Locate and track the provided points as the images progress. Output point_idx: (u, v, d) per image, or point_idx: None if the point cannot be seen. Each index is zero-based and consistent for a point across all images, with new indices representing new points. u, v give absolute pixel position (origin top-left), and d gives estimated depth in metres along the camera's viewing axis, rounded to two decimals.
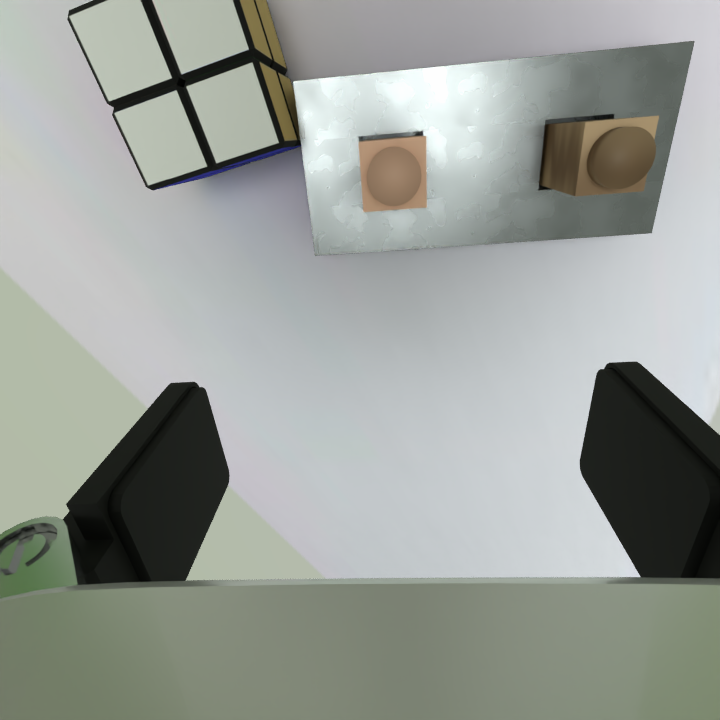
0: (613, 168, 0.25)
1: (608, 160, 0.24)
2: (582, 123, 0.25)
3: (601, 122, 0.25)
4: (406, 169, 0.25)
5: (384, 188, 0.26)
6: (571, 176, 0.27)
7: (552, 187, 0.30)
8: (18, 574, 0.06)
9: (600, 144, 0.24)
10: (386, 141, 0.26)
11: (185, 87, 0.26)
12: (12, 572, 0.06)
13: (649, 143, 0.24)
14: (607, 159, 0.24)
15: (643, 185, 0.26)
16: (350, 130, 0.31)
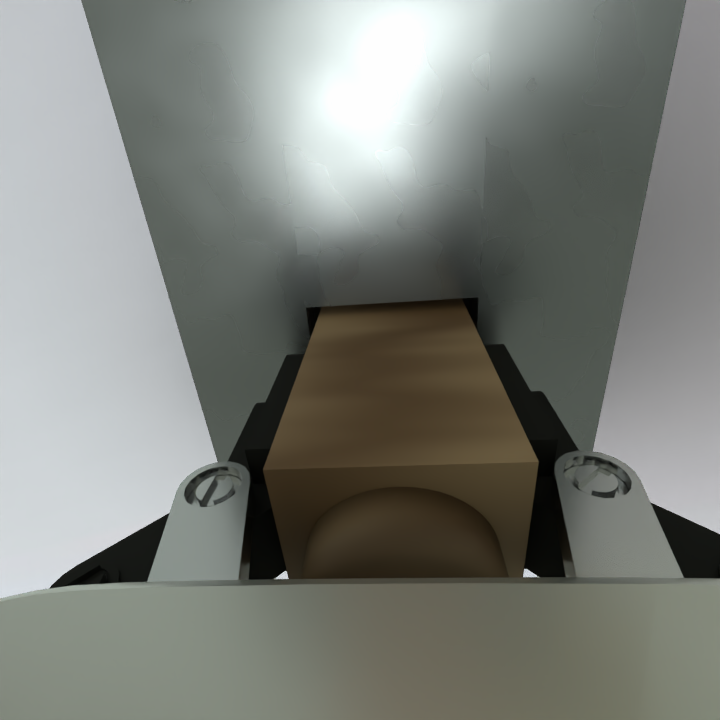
0: None
1: None
2: (526, 444, 0.07)
3: (526, 507, 0.07)
4: None
5: None
6: (340, 428, 0.07)
7: (310, 349, 0.10)
8: (205, 509, 0.07)
9: (463, 548, 0.06)
10: None
11: None
12: (203, 504, 0.07)
13: None
14: None
15: None
16: None
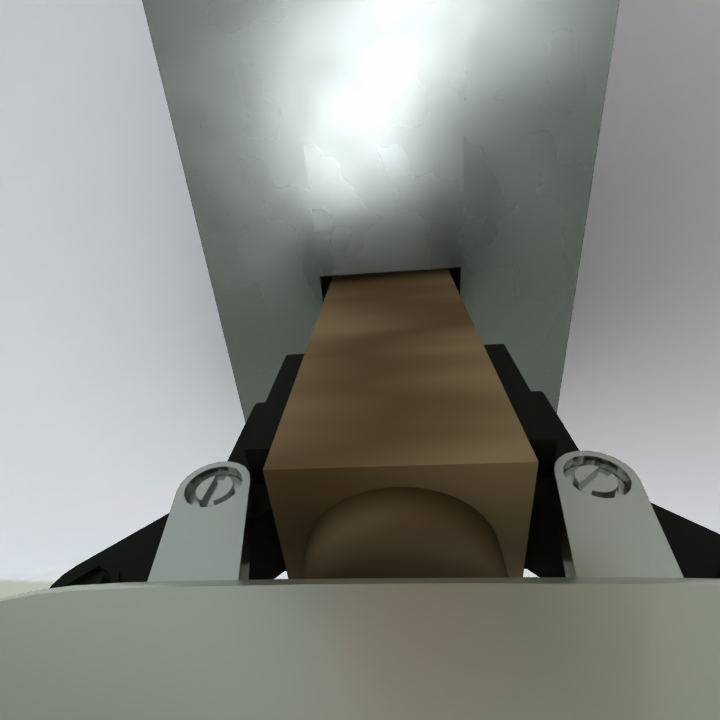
0: None
1: None
2: (526, 444, 0.07)
3: (525, 507, 0.07)
4: None
5: None
6: (340, 428, 0.07)
7: (310, 349, 0.10)
8: (206, 509, 0.07)
9: (463, 548, 0.06)
10: None
11: None
12: (203, 504, 0.07)
13: None
14: None
15: None
16: None
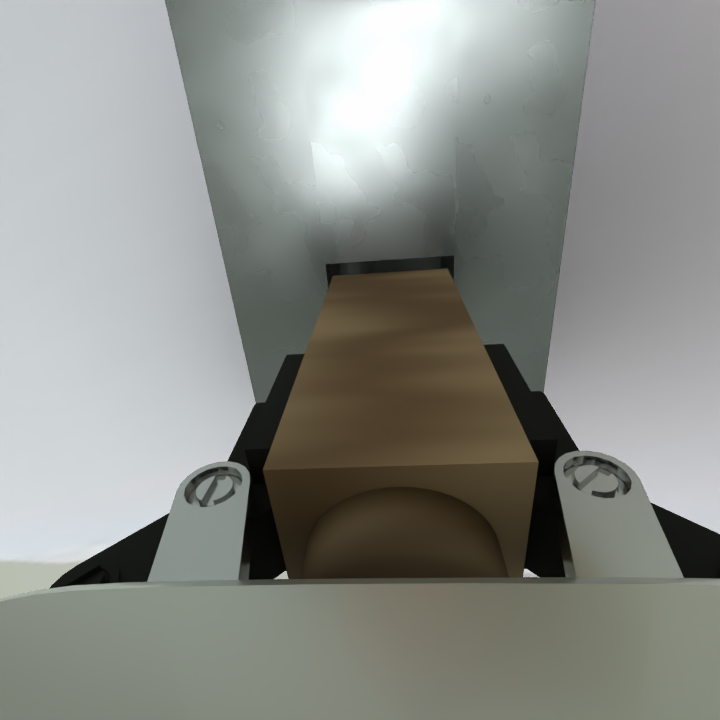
0: None
1: None
2: (526, 444, 0.07)
3: (525, 507, 0.07)
4: None
5: None
6: (340, 428, 0.07)
7: (310, 349, 0.10)
8: (206, 509, 0.07)
9: (463, 548, 0.06)
10: None
11: None
12: (203, 504, 0.07)
13: None
14: None
15: None
16: None
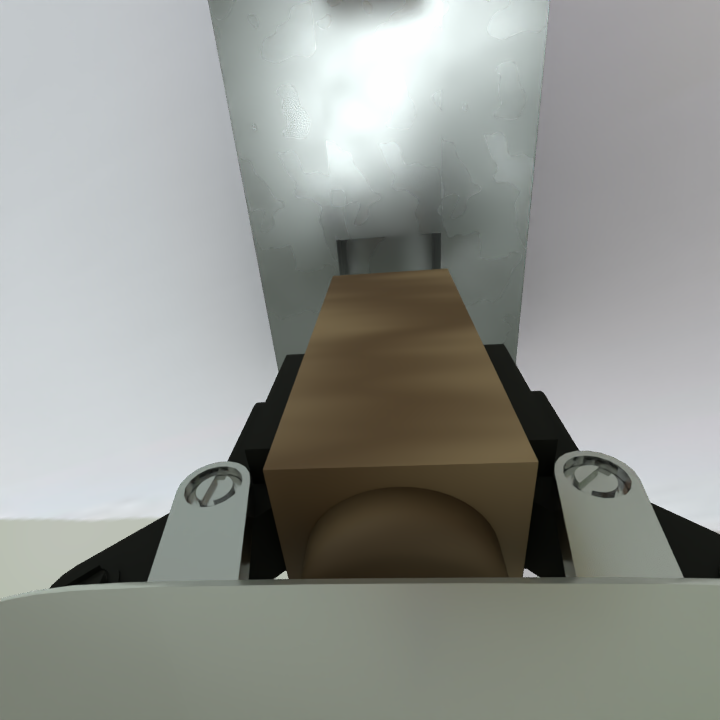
0: None
1: None
2: (526, 444, 0.07)
3: (525, 507, 0.07)
4: None
5: None
6: (340, 428, 0.07)
7: (310, 349, 0.10)
8: (205, 509, 0.07)
9: (463, 548, 0.06)
10: None
11: None
12: (203, 504, 0.07)
13: None
14: None
15: None
16: None
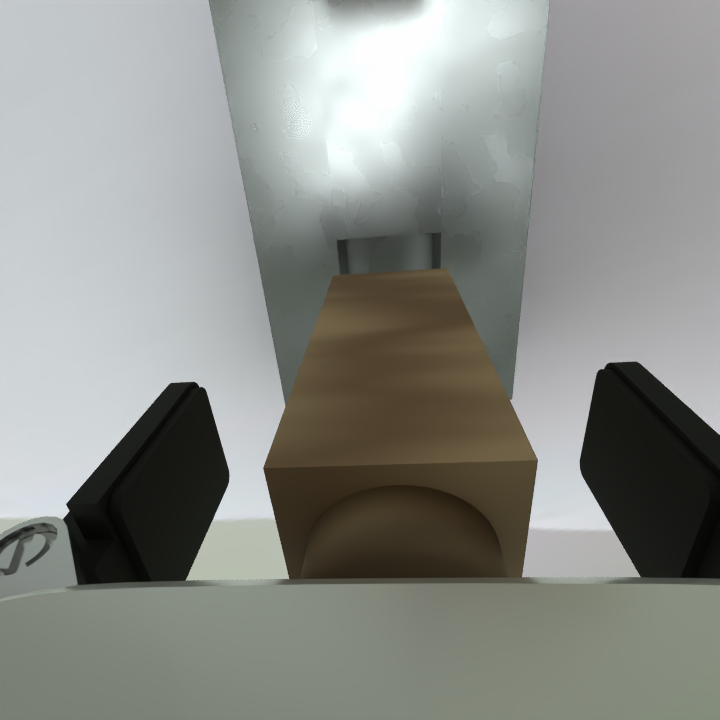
0: None
1: None
2: (525, 442, 0.07)
3: (525, 506, 0.07)
4: None
5: None
6: (340, 426, 0.07)
7: (310, 348, 0.10)
8: (18, 574, 0.06)
9: (463, 546, 0.06)
10: None
11: None
12: (12, 572, 0.06)
13: None
14: None
15: None
16: None
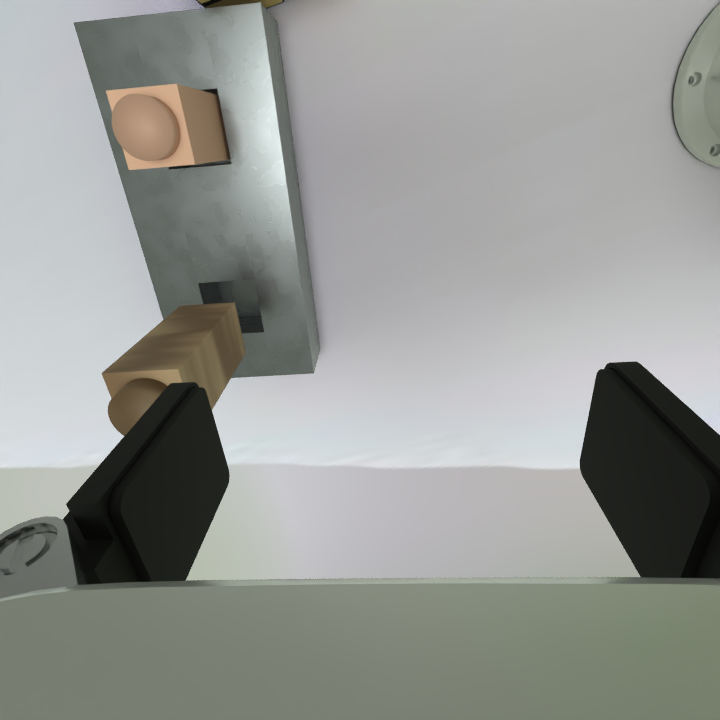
0: (127, 408, 0.22)
1: (134, 402, 0.21)
2: (180, 365, 0.22)
3: None
4: (152, 143, 0.24)
5: (128, 116, 0.23)
6: (131, 363, 0.23)
7: (141, 340, 0.26)
8: (18, 574, 0.06)
9: (150, 390, 0.21)
10: (183, 118, 0.24)
11: None
12: (12, 572, 0.06)
13: None
14: (135, 401, 0.21)
15: None
16: (222, 78, 0.28)
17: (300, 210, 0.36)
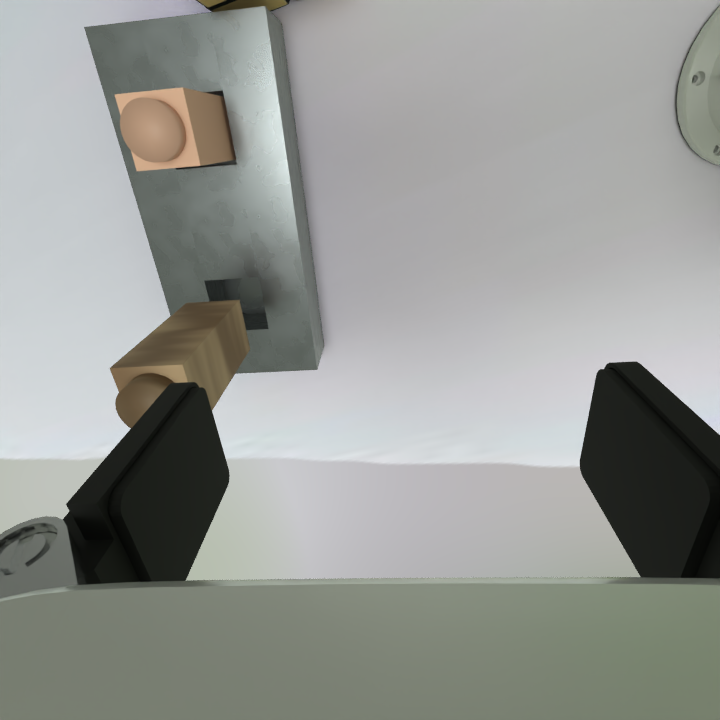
0: (134, 402, 0.22)
1: (140, 396, 0.22)
2: (184, 361, 0.23)
3: (185, 379, 0.23)
4: (159, 145, 0.24)
5: (135, 119, 0.24)
6: (138, 358, 0.24)
7: (148, 336, 0.27)
8: (18, 574, 0.06)
9: (156, 385, 0.22)
10: (188, 121, 0.25)
11: None
12: (12, 572, 0.06)
13: None
14: (141, 395, 0.22)
15: None
16: (227, 80, 0.29)
17: (304, 209, 0.37)
